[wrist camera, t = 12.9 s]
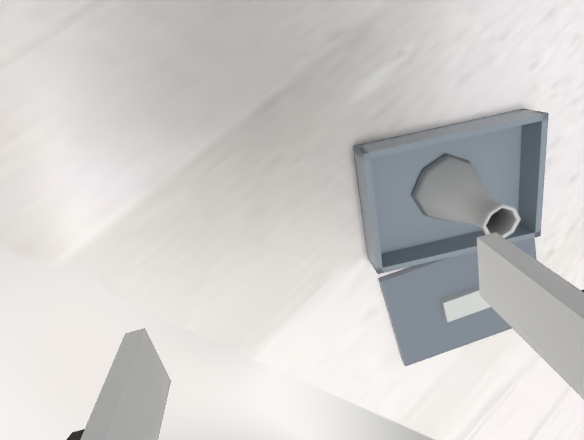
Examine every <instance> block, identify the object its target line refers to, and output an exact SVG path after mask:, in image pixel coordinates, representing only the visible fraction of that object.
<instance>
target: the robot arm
mask: <svg viewBox="0 0 584 440" xmlns="http://www.w3.org/2000/svg"><path fill="white" fill-rule="evenodd" d="M477 252H478V271H479V289H480V296H481V297H482V298H483V299H484V300H485V301H486V302H487V303H488V304H489V305H490V306H491V307H492V308H493V309H494V310H495V311H496V312H497V313H498V314H499V315H500V316H501V317H502V318H503V319H504V320H505V321H506V322H507V323H508V324H509V325H510V326H511V327H512V328H513V329H514V330H515V331H516V332H517V333H518V334H519V335H520V336H521V337H522V338H523V339H524V340H525V341H526V342H527V343H528V344H529V345H530V346H531V347H532V348H533V349H534V350H535V351H536V352H537V353H538V354H539V355H540V356H541V357H542V358H543V359H544V360H545V361H546V362H547V363H548V364H549V365H550V366H551V367H552V368H553V369H554V370H555V371H556V372H557V373H558V374H559V375H560V376H561V377H562V378H563V379H564V380H565V381H566V382H567V383H568V384H569V385H570V386H571V387H572V388H573V389H574V390H575V391H576V392H577V393H578V394H579V395H580V396H581V397H582V398H583V399H584V290H579V289H578V288H576V287H575V286H573V285H572V284H570V283H569V282H568V281H566V280H565V279H563V278H562V277H560V276H559V275H557V274H556V273H554V272H553V271H552V270H550V269H549V268H547V267H546V266H544V265H543V264H541V263H540V262H538V261H537V260H536V259H534V258H533V257H531V256H530V255H528V254H527V253H525V252H524V251H522V250H521V249H520V248H518V247H517V246H515V245H514V244H512V243H511V242H509V241H508V240H506V239H505V238H504V237H502V236H501V235H499V234H498V233H496V232H495V233H491V234H487V235H484V236H480V237H477ZM170 383H171V380H170V378H169V376H168V374H167V372H166V370H165V368H164V366H163V364H162V362H161V360H160V358H159V356H158V354H157V352H156V350H155V348H154V346H153V344H152V342H151V340H150V338H149V336H148V334H147V332H146V330H145V329H141V330H137V331H133V332H130V333H126V334H125V335H124V338H123V340H122V343H121V345H120V347H119V350H118V352H117V354H116V357H115V359H114V361H113V364H112V366H111V369H110V371H109V373H108V376H107V378H106V380H105V383H104V385H103V387H102V390H101V392H100V394H99V397H98V399H97V402H96V404H95V407H94V409H93V411H92V413H91V416H90V418H89V421H88V423H87V425H86V428H85V429H83V430H80V431H77V432H73V433H72V434H71V435H70V436H69V437H68V439H67V440H158V437H159V433H160V428H161V423H162V419H163V414H164V410H165V405H166V401H167V396H168V391H169V387H170Z"/></svg>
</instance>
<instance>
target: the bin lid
mask: <svg viewBox="0 0 584 440" xmlns="http://www.w3.org/2000/svg"><path fill="white" fill-rule="evenodd" d="M512 244H514V245H515V246H517V247H518V248H520V249H521V250H522V251H524V252H525V253H527V254H528V255H530V256H531V257H533V258H534V259H536V251H535V240H534V238H530V239H525V240H521V241H517V242H513V243H512ZM379 282H380V285H381V289H382V292H383V295H384V299H385V302H386V306H387V309H388V313H389V316H390V319H391V323H392V326H393V330H394V333H395V336H396V340H397V343H398V347H399V350H400V353H401V357H402V360H403V363H404V365H405V366H408V365H411V364H413V363H416V362H419V361H422V360H425V359H427V358H430V357H433V356H436V355H439V354H441V353H444V352H447V351H450V350H453V349H455V348H458V347H461V346H464V345H466V344H469V343H472V342H475V341H478V340H480V339H483V338H486V337H489V336H492V335H494V334H497V333H500V332H503V331H506V330H508V329H511V328H512V327H511V326H510V325H509V324H508V323H507V322H506V321H505V320H504V319H503V318H502V317H501V316H500V315H499V314H498V313H497V312H496V311H495V310H494V309H493V308H492V307H491V306H490V305H489V304H488V303H487V302H486V301H485V300H484V299H483V298H482V297H481V296H480V289H479V271H478V252H477V251H474V252H470V253H465V254H461V255H457V256H453V257H448V258H444V259H440V260H435V261H431V262H427V263H423V264H418V265H415V266H412V267H409V268H407V269H404V270H401V271H398V272H396V273H393V274H390V275H387V276H385V277H382V278H379Z"/></svg>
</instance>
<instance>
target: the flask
mask: <svg viewBox="0 0 584 440" xmlns="http://www.w3.org/2000/svg"><path fill="white" fill-rule="evenodd" d="M412 197H413V198H414V200H415V202H416V203H417V205H418V207H419V208H420V210H421V212H422V213H423V215H425V216H429V217H433V218H436V219H440V220H443V221H448V222H463V223H470V224H474V225H477V226H478V227H480V228H482V229H483V231H484V233H485V235H487V234H491V233H495V232H496V233H498V234H499V235H501V236H502V237H504V238H506V237H507V236H509V235H511V234H512V233H514V231H515V229H516V227H517V226H518V224H519V222H520V220H521V218H520V216H519V214H518V212H517V210H516V208H515V207H512V206H509V205H505V204H502V203H498V202H497V201H496V200H495V199H494V198H493V197H492V196H491V195H490V194H489V193H488V191H487V190H486V188H485V186H484V185H483V183H482V182H481V180H480V178H479V177H478V175H477V173H476V171H475V169H474V167H473V166H472V164H471V162H470V161H468V160H465V159H462V158H458V157H455V156H452V155H449V154H445V155H443V156H442V157H440V158H439V159H438V160H436V161H435V162H433V163H432V164H430V165H429V166H427V167H426V168H425V169H423V170H422V172H421V175H420V177H419V179H418V181H417V184H416V186H415V188H414V191H413V193H412Z"/></svg>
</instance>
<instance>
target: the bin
mask: <svg viewBox="0 0 584 440" xmlns="http://www.w3.org/2000/svg"><path fill="white" fill-rule="evenodd" d="M547 128H548V113H545V112H539V111H533V110H527V109H522V110H517V111H512V112H508V113H503V114H499V115H494V116H490V117H485V118H481V119H476V120H471V121H467V122H462V123H458V124H453V125H449V126H444V127H440V128H435V129H430V130H426V131H421V132H417V133H412V134H408V135H403V136H399V137H394V138H390V139H385V140H380V141H376V142H371V143H367V144H362V145H358V146H353V148H354V155H355V163H356V171H357V178H358V186H359V194H360V201H361V209H362V217H363V224H364V232H365V240H366V247H367V255H368V260H369V261H370V263H371V264H372V266H373V267H374V269H375V270H376V272H377V273H378V274H380V273H384V272H388V271H393V270H397V269H401V268H405V267H410V266H414V265H418V264H423V263H427V262H431V261H435V260H440V259H444V258H448V257H453V256H457V255H461V254H465V253H470V252H474V251H477V237H480V236H484V235H485V233H484V231H483V229H482V228H480V227H478V226H477V225H474V224H470V223H463V222H448V221H443V220H440V219H436V218H433V217H429V216H425V215H423V213H422V212H421V210H420V208H419V207H418V205H417V203H416V202H415V200H414V198H413V197H412V193H413V191H414V188H415V186H416V184H417V181H418V179H419V177H420V175H421V172H422V170H423V169H425V168H426V167H427V166H429V165H430V164H432V163H433V162H435V161H436V160H438V159H439V158H440V157H442V156H443V155H445V154H449V155H452V156H455V157H458V158H462V159H465V160H468V161H470V162H471V164H472V166H473V167H474V169H475V171H476V173H477V175H478V177H479V178H480V180H481V182H482V183H483V185H484V186H485V188H486V190H487V191H488V193H489V194H490V195H491V196H492V197H493V198H494V199H495V200H496V201H497V202H498V203H502V204H505V205H509V206H512V207H515V208H516V210H517V212H518V214H519V216H520V218H521V220H520V222H519V224H518V226H517V227H516V229H515V231H514V233H512V234H511V235H509V236H507V237H506V238H505V239H506V240H508V241H509V242H511V243H513V242H517V241H521V240H525V239H530V238H534V237H538V236H540V234H541V219H542V203H543V188H544V173H545V158H546V143H547Z"/></svg>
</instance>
